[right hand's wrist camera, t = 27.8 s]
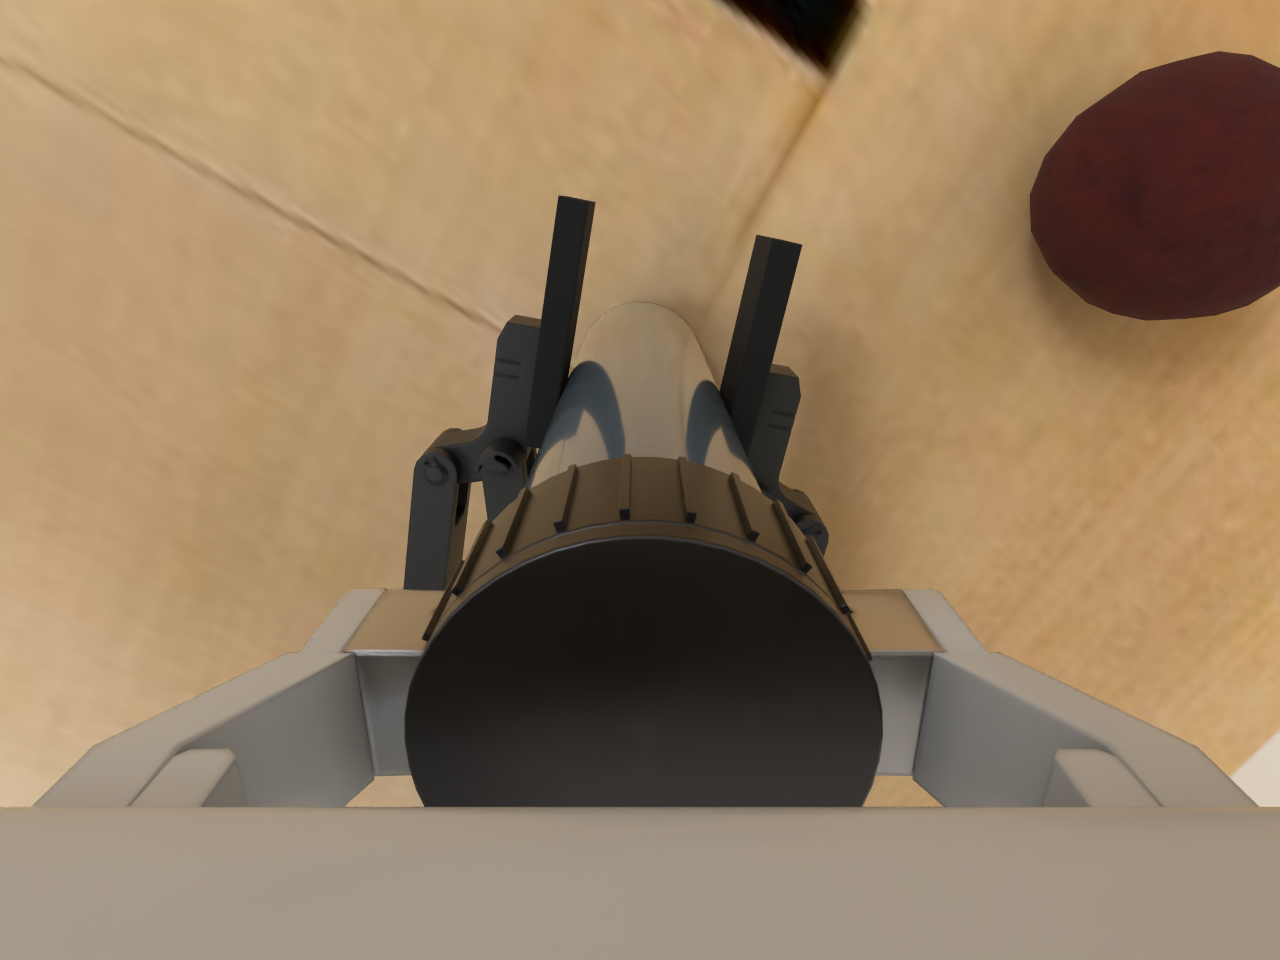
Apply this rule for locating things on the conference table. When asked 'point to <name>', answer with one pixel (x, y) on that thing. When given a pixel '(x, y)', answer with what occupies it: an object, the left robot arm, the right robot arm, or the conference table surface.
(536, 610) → the lid
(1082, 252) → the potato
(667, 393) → the blue-grey bottle
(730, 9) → the conference table surface
